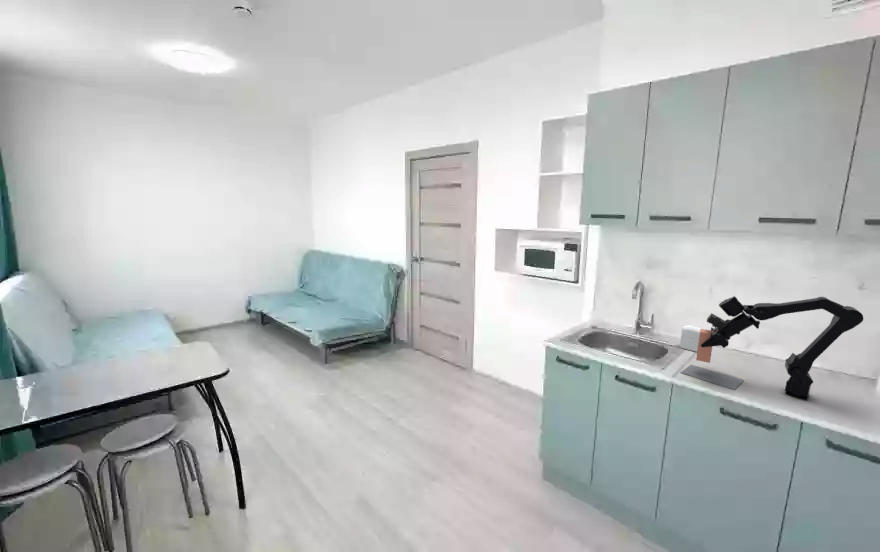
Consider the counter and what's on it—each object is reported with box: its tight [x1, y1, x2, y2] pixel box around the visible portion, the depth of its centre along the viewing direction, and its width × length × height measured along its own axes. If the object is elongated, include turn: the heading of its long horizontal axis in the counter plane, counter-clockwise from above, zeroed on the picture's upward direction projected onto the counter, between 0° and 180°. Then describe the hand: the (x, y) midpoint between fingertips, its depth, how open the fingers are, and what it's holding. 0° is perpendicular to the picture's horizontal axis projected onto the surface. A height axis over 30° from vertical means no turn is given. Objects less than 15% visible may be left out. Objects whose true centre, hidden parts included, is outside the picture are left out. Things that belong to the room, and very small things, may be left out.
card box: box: [695, 328, 714, 364], centre depth 171 cm, size 5×4×13 cm
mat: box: [680, 364, 745, 391], centre depth 171 cm, size 20×13×1 cm, turn 40°
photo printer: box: [679, 325, 702, 353], centre depth 201 cm, size 10×4×12 cm, turn 39°
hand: (701, 344), depth 172 cm, fingers closed on card box, 5 cm apart
